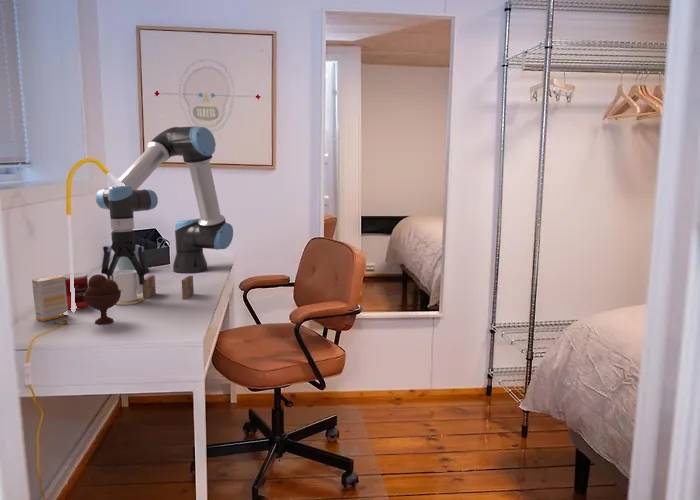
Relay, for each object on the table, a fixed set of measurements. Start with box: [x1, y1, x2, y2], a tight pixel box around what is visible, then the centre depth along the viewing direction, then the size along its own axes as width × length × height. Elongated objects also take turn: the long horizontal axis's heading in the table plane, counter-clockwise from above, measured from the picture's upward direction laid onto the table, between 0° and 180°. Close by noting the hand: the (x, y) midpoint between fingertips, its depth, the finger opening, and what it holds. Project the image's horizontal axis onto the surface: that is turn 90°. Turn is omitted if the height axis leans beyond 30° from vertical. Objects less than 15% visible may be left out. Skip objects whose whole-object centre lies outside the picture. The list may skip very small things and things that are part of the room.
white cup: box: [112, 270, 138, 302], centre depth 195 cm, size 8×8×10 cm
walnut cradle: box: [142, 274, 195, 300], centre depth 202 cm, size 8×16×7 cm, turn 87°
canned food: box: [62, 272, 90, 310], centre depth 187 cm, size 8×8×11 cm
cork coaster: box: [114, 295, 145, 306], centre depth 196 cm, size 11×11×1 cm
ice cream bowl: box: [83, 273, 121, 326], centre depth 170 cm, size 11×11×15 cm
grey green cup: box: [117, 244, 140, 271], centre depth 243 cm, size 10×10×12 cm
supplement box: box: [31, 274, 69, 322], centre depth 175 cm, size 8×5×13 cm, turn 145°
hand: (126, 293), depth 195 cm, fingers open, 9 cm apart
